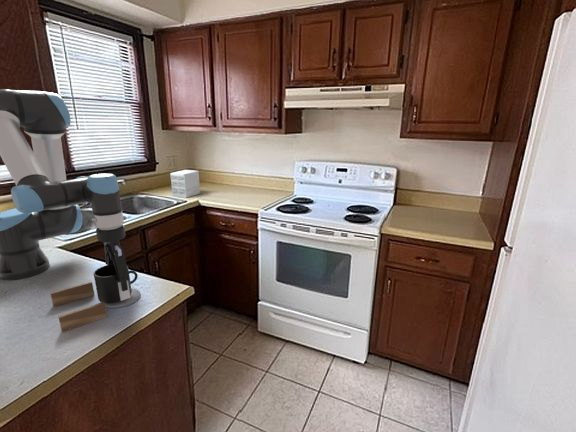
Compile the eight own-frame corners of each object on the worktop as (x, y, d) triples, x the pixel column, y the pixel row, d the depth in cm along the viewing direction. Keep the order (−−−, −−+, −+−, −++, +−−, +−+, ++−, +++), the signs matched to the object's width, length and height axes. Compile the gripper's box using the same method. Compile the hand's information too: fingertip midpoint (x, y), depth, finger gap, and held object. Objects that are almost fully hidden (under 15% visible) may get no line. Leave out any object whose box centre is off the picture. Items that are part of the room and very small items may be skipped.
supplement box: (186, 192, 252) (184, 169, 246) (200, 193, 247) (199, 170, 242) (171, 196, 236) (169, 172, 231) (186, 198, 232) (184, 173, 226)
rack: (53, 305, 97) (50, 292, 96) (93, 293, 104) (91, 281, 103) (62, 332, 85) (58, 318, 84) (107, 316, 92) (104, 302, 91)
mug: (144, 293, 102) (141, 267, 99) (103, 307, 94) (98, 280, 91) (134, 282, 108) (130, 258, 105) (94, 295, 100) (89, 269, 97)
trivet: (98, 297, 102) (98, 296, 102) (134, 286, 109) (134, 284, 109) (107, 312, 94) (107, 310, 94) (145, 299, 101) (145, 297, 101)
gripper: (87, 219, 100) (98, 283, 106) (105, 239, 84) (117, 311, 91) (113, 215, 104) (122, 276, 111) (135, 232, 89) (144, 302, 95)
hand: (120, 292), depth 101 cm, fingers closed on mug, 9 cm apart
